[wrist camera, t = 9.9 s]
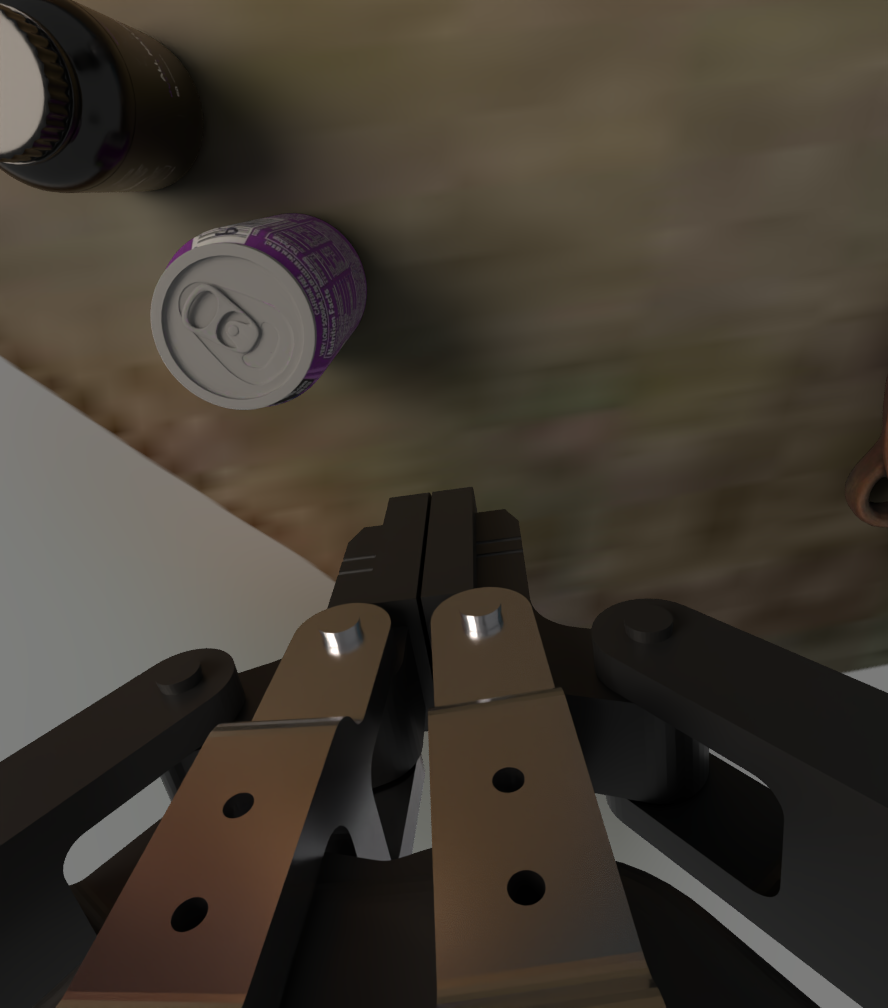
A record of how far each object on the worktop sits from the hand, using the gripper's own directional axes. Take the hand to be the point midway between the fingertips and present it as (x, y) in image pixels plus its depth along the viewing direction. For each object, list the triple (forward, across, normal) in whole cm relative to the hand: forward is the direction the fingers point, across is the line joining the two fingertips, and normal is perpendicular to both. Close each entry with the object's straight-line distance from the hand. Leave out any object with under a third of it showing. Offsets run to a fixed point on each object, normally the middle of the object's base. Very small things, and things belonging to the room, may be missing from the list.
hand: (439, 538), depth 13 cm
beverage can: (+27, +8, -2) cm, 28 cm away
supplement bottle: (+27, +14, -11) cm, 33 cm away
